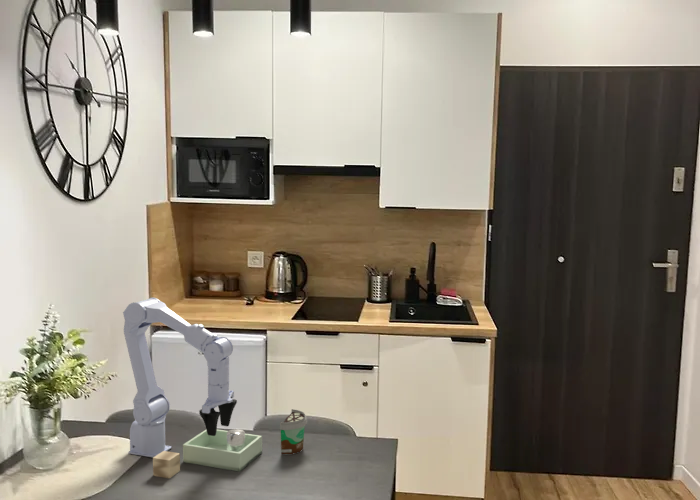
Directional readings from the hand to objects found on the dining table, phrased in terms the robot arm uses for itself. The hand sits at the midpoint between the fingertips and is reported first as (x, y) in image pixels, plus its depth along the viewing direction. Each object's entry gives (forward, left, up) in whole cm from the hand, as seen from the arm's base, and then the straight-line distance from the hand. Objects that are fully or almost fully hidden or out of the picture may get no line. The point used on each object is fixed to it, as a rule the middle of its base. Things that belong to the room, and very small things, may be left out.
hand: (218, 430), depth 192 cm
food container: (+16, +16, -10) cm, 25 cm away
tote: (-1, +4, -9) cm, 10 cm away
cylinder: (+3, +4, -8) cm, 10 cm away
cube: (-10, -11, -9) cm, 17 cm away
